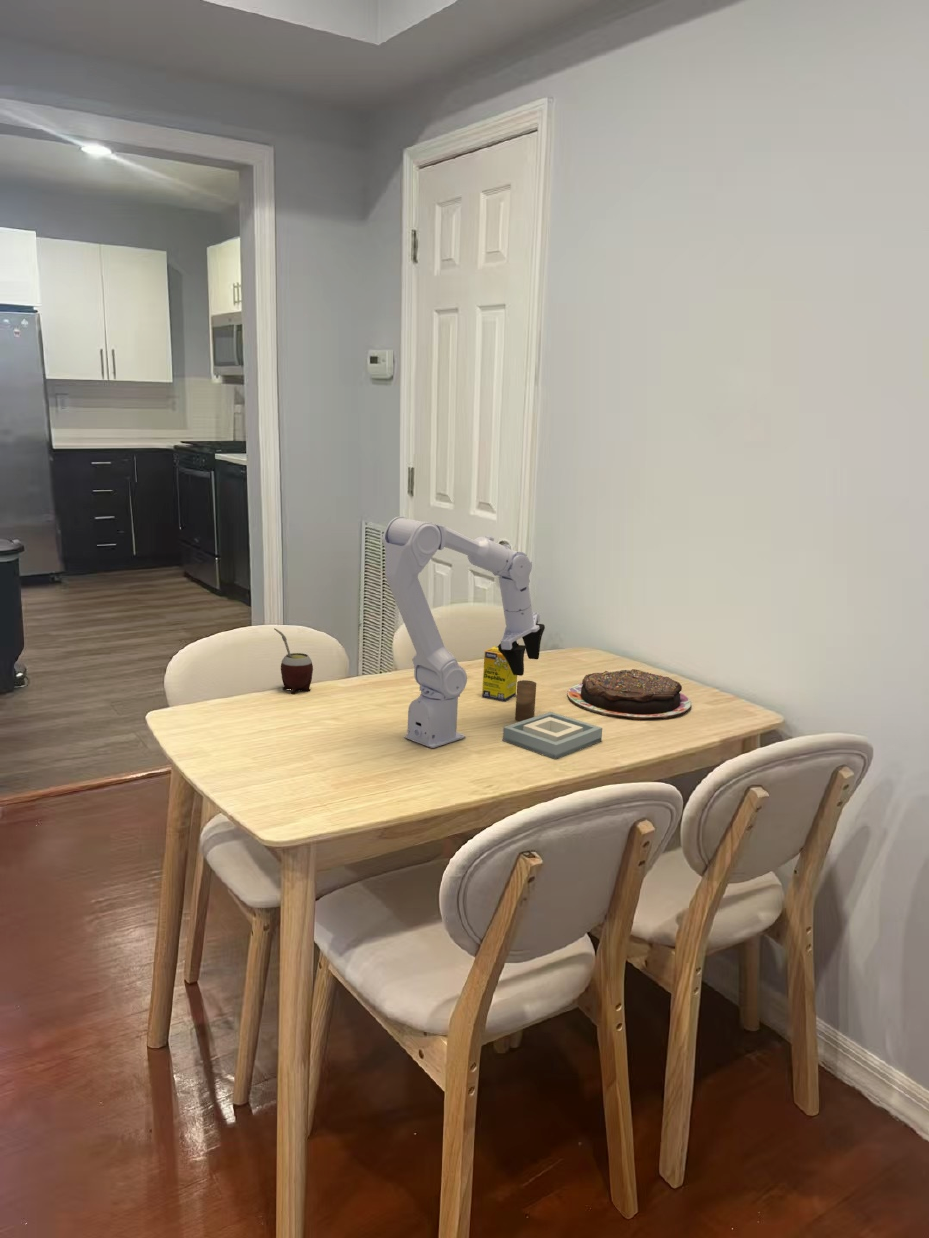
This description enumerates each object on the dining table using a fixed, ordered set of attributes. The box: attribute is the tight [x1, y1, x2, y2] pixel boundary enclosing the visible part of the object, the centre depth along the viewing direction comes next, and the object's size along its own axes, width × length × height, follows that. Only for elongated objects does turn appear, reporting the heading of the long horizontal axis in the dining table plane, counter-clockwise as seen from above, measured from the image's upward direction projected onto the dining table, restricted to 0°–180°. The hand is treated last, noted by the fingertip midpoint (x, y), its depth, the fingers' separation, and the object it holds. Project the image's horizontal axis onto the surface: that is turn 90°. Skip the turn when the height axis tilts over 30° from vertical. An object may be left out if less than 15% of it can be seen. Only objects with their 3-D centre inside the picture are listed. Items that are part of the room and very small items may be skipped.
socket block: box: [523, 717, 583, 742], centre depth 179 cm, size 8×8×2 cm
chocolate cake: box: [566, 668, 692, 721], centre depth 207 cm, size 28×28×7 cm
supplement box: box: [481, 645, 518, 703], centre depth 205 cm, size 6×6×11 cm
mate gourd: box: [273, 627, 314, 695], centre depth 202 cm, size 8×8×15 cm
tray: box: [502, 711, 603, 760], centre depth 179 cm, size 15×13×3 cm
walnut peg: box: [514, 679, 537, 722], centre depth 190 cm, size 4×4×8 cm
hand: (526, 666), depth 189 cm, fingers open, 7 cm apart
